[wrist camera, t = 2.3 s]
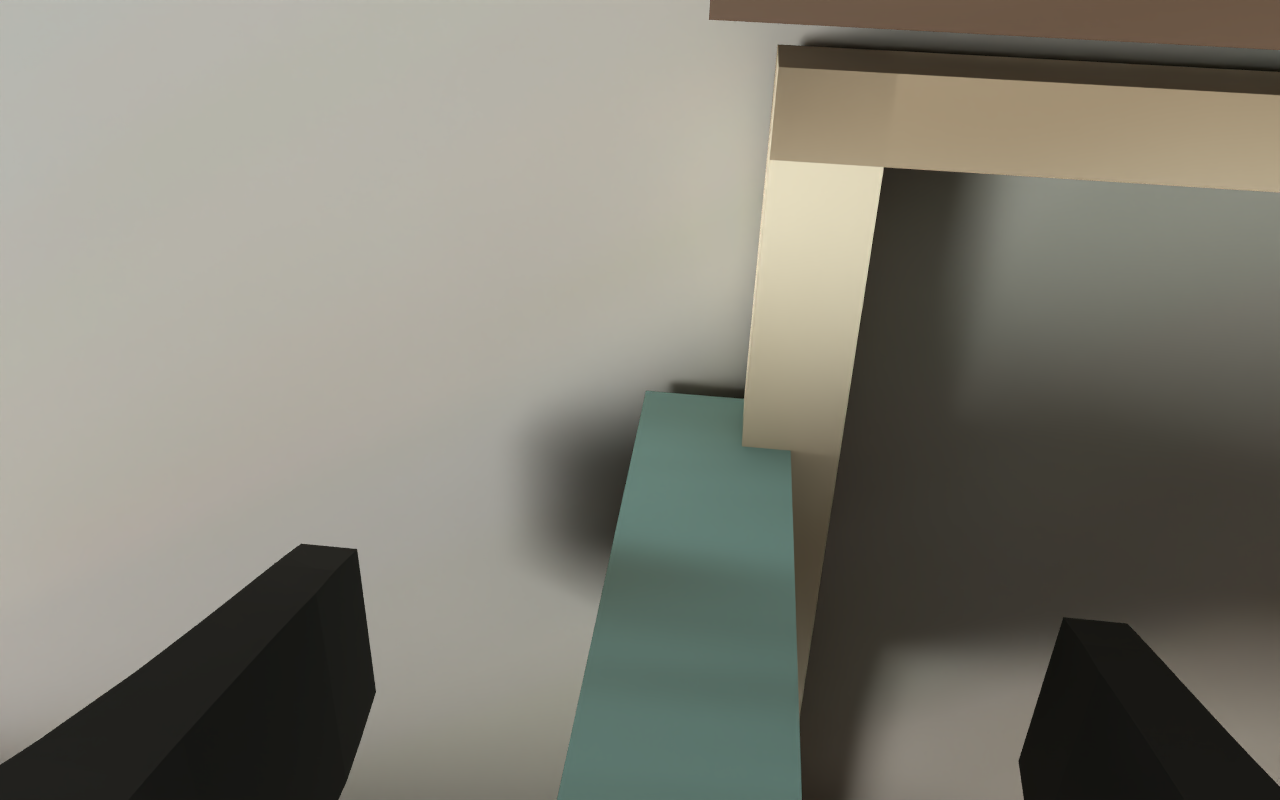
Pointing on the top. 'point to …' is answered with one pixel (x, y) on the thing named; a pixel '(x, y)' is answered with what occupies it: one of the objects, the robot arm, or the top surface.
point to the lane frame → (1036, 18)
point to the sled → (833, 387)
